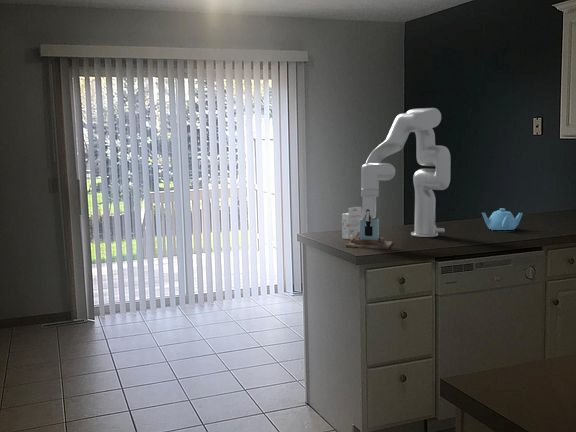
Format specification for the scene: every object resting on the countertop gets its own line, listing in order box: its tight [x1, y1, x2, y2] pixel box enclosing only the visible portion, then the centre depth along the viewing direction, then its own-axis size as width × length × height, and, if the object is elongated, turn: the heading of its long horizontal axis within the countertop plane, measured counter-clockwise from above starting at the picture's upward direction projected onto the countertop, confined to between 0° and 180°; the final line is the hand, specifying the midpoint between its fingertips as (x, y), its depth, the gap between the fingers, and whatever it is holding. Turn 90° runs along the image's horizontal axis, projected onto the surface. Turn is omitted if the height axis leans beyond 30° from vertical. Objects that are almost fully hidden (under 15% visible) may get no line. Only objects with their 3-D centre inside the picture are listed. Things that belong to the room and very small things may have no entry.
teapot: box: [481, 207, 523, 231], centre depth 319 cm, size 15×15×11 cm
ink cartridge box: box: [341, 206, 362, 240], centre depth 296 cm, size 9×5×15 cm, turn 126°
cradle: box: [345, 235, 393, 250], centre depth 276 cm, size 18×14×4 cm
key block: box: [360, 218, 380, 240], centre depth 276 cm, size 4×8×9 cm, turn 74°
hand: (369, 234), depth 276 cm, fingers closed on key block, 4 cm apart
